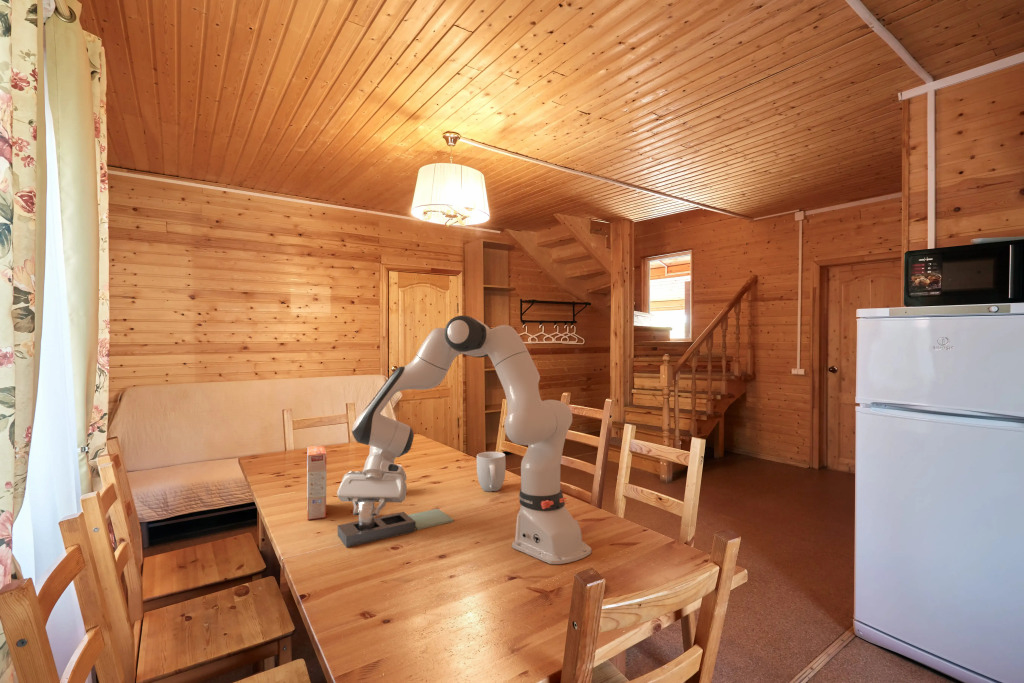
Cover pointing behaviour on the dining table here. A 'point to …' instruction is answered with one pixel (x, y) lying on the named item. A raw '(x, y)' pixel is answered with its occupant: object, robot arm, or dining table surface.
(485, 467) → the mug
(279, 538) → the dining table surface
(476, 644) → the dining table surface
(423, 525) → the mat
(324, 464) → the cracker box
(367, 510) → the steel peg
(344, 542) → the grey socket block
